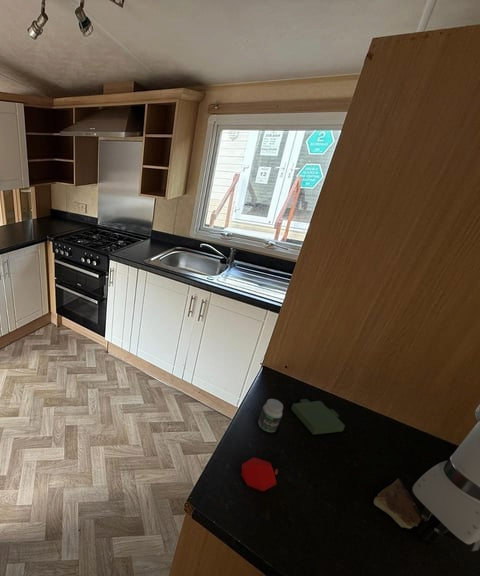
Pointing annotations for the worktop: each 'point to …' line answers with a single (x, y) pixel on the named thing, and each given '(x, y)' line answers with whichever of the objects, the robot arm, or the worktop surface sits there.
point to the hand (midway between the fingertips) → (425, 535)
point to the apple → (258, 474)
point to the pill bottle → (270, 415)
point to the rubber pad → (317, 417)
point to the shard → (399, 505)
